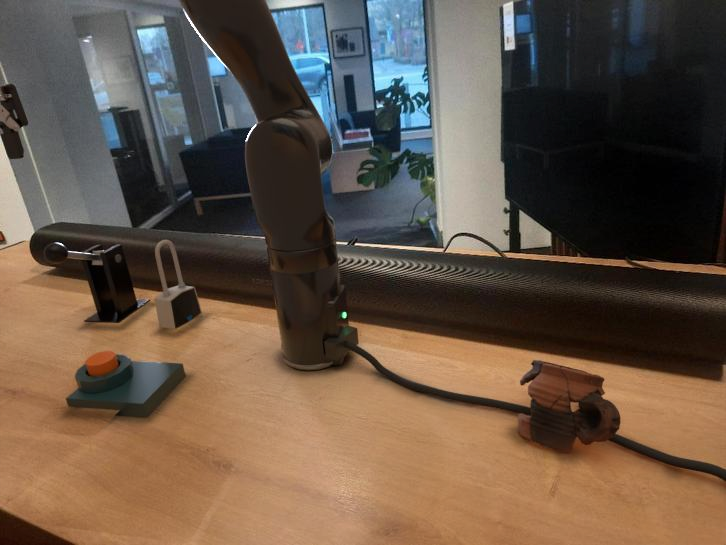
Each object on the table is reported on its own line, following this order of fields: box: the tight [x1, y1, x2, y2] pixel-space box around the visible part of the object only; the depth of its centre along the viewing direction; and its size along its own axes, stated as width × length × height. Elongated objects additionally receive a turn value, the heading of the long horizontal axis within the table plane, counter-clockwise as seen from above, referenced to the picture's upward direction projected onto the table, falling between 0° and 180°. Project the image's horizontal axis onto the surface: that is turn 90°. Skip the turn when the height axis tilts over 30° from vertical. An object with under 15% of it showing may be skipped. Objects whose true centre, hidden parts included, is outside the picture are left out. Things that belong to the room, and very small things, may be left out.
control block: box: [65, 353, 187, 419], centre depth 65 cm, size 12×9×4 cm
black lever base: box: [80, 244, 151, 324], centre depth 87 cm, size 9×7×13 cm
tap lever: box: [43, 242, 104, 266], centre depth 80 cm, size 13×3×3 cm, turn 169°
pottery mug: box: [517, 359, 622, 454], centre depth 52 cm, size 12×10×8 cm
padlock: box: [154, 239, 203, 330], centre depth 81 cm, size 7×4×15 cm, turn 155°
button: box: [84, 350, 119, 376], centre depth 64 cm, size 4×4×2 cm
